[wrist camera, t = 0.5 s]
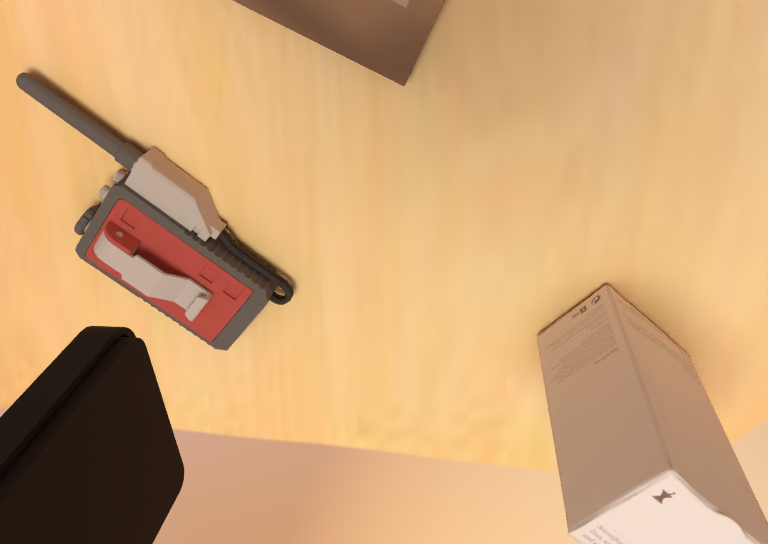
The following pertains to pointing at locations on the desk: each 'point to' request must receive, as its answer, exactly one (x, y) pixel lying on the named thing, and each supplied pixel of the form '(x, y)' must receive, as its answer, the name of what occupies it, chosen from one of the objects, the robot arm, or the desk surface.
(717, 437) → the skincare box
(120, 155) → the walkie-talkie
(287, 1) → the socket board
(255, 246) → the desk surface
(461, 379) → the desk surface
